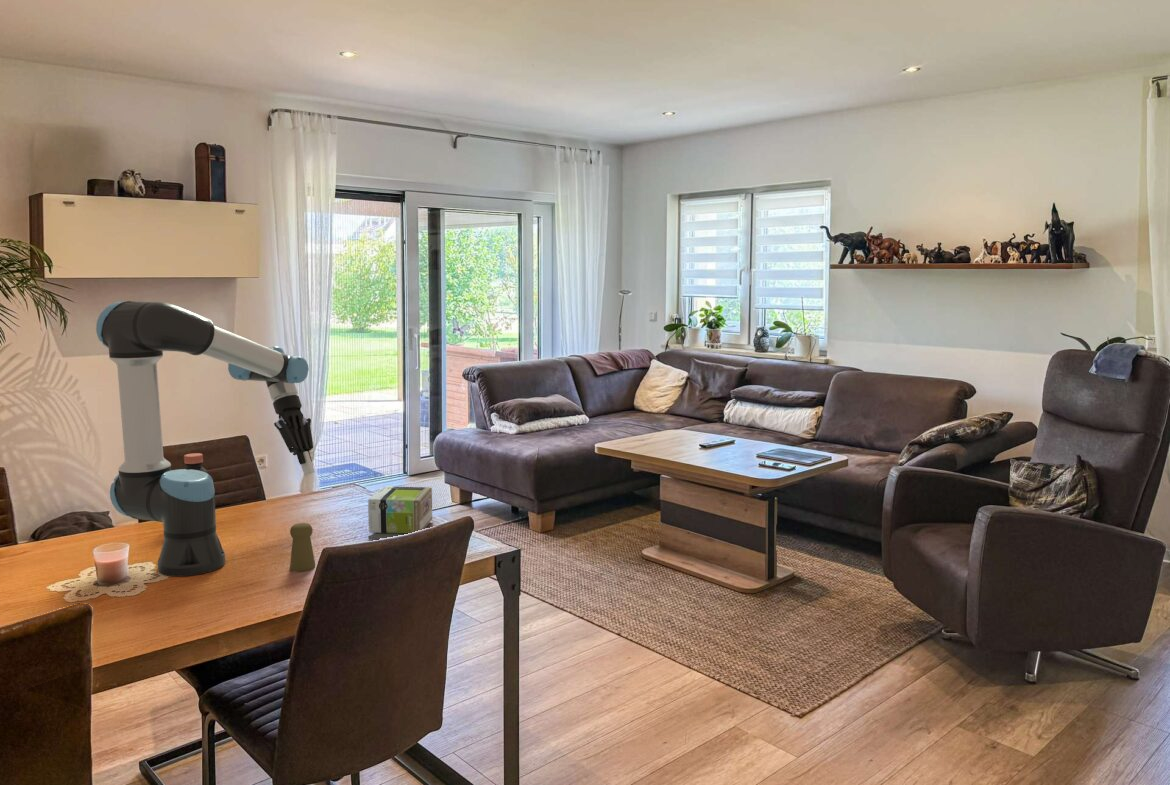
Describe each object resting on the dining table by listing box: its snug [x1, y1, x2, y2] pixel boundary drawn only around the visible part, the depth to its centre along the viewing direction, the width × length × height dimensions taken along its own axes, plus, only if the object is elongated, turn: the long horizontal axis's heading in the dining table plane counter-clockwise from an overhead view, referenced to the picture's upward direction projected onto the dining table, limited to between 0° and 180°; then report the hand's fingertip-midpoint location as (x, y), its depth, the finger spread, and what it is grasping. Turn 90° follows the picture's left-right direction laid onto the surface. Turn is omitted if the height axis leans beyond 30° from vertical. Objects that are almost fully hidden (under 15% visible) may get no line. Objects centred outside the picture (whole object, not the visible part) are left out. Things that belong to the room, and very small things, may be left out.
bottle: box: [183, 452, 208, 474], centre depth 246 cm, size 7×7×20 cm
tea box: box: [367, 486, 433, 534], centre depth 242 cm, size 15×10×15 cm
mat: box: [368, 526, 428, 540], centre depth 237 cm, size 14×10×1 cm
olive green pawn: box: [289, 522, 316, 573], centre depth 209 cm, size 6×6×11 cm
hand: (309, 473), depth 246 cm, fingers closed
